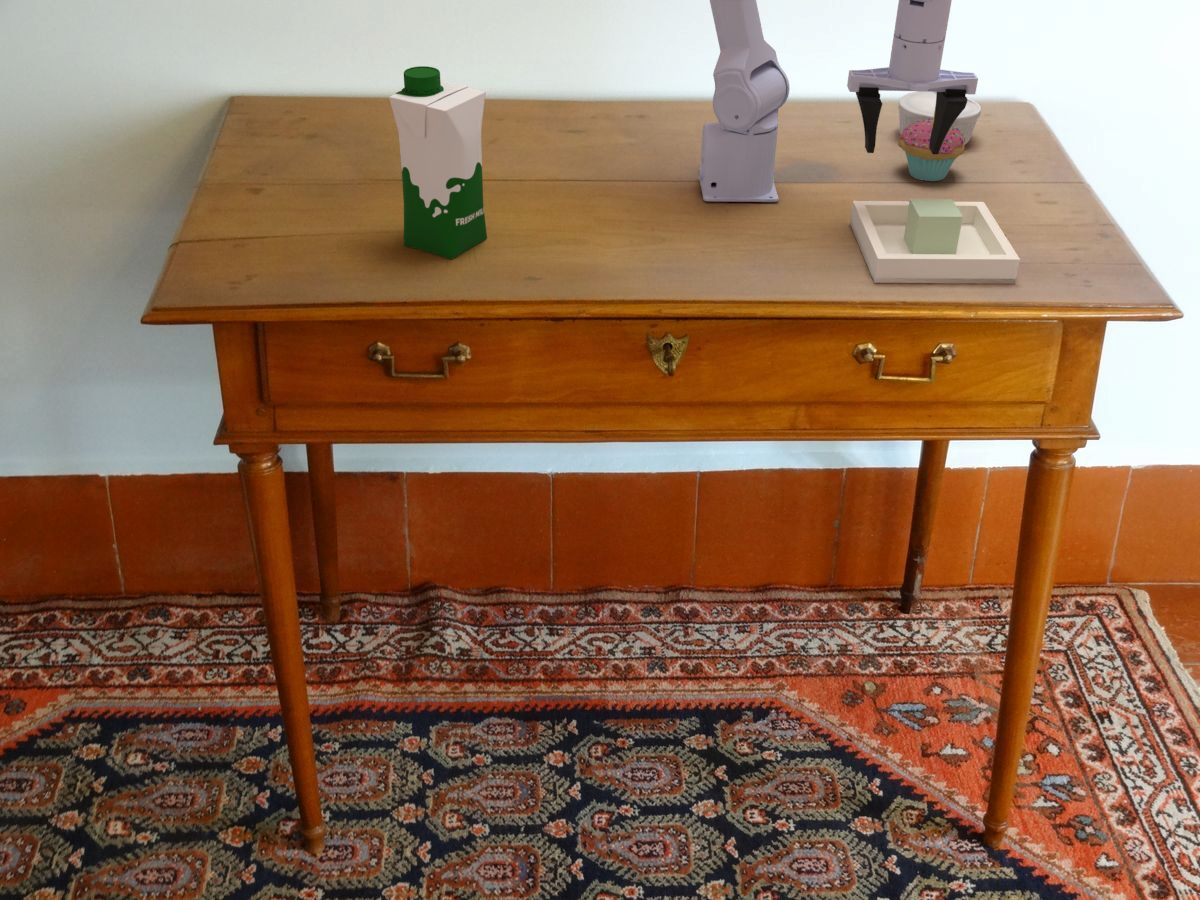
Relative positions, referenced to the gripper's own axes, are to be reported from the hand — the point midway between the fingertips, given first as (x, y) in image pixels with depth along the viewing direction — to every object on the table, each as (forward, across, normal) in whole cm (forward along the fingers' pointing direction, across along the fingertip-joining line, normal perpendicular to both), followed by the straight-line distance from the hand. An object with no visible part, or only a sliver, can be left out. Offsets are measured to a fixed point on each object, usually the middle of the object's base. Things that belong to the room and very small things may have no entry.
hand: (901, 150), depth 160 cm
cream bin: (+10, +3, -7) cm, 13 cm away
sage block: (+9, +3, -7) cm, 12 cm away
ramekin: (+10, +12, +30) cm, 34 cm away
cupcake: (+10, +8, +17) cm, 21 cm away
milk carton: (+10, -54, -6) cm, 55 cm away
